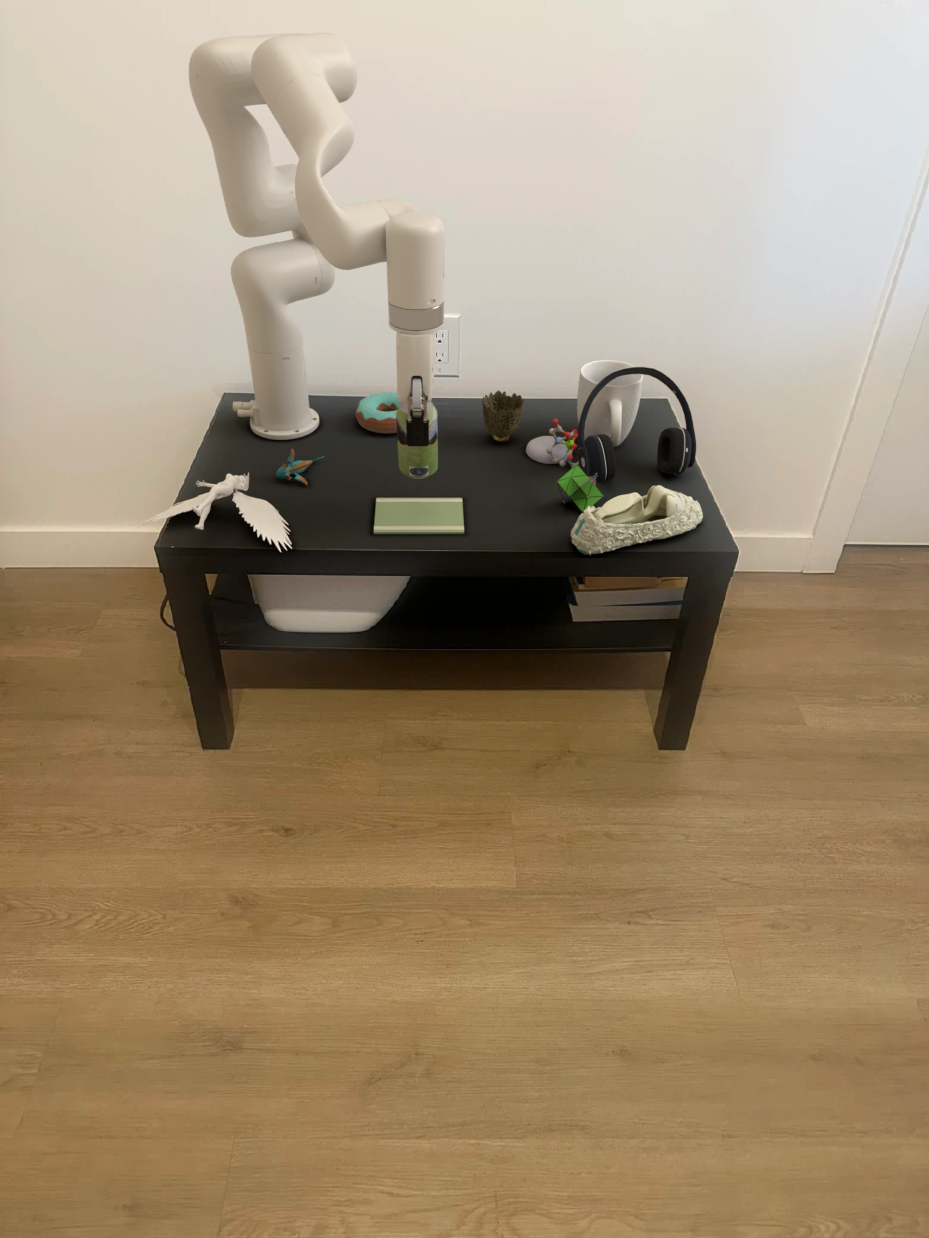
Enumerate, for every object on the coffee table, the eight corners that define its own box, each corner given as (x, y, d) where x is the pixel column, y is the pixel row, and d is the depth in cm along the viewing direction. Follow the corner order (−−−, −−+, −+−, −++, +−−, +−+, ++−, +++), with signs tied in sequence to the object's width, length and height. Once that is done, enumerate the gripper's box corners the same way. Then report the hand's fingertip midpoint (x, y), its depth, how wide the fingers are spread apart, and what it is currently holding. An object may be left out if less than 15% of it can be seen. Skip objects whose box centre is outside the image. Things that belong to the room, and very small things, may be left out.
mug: (642, 466, 151) (654, 396, 143) (580, 466, 151) (588, 396, 143) (626, 426, 163) (637, 359, 155) (568, 426, 162) (575, 359, 154)
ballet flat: (716, 530, 138) (728, 487, 132) (592, 572, 128) (600, 527, 123) (680, 502, 143) (691, 460, 138) (559, 540, 133) (565, 497, 128)
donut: (350, 412, 165) (349, 392, 163) (411, 405, 168) (411, 385, 165) (362, 441, 157) (361, 421, 154) (426, 433, 159) (426, 413, 157)
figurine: (112, 523, 127) (162, 530, 141) (269, 560, 123) (304, 564, 137) (128, 443, 126) (177, 458, 140) (287, 478, 122) (321, 490, 136)
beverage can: (439, 465, 136) (442, 392, 129) (434, 487, 130) (436, 412, 123) (400, 462, 136) (400, 389, 129) (392, 483, 130) (393, 408, 123)
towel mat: (373, 534, 134) (373, 531, 134) (376, 499, 142) (376, 497, 141) (464, 534, 134) (464, 531, 134) (462, 499, 142) (462, 497, 142)
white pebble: (525, 452, 151) (525, 462, 152) (571, 455, 150) (570, 465, 152) (527, 430, 157) (526, 439, 158) (572, 433, 156) (570, 443, 158)
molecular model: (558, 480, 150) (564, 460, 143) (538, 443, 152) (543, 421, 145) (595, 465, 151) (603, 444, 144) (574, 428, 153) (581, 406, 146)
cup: (527, 436, 159) (530, 395, 154) (512, 453, 154) (514, 412, 149) (490, 427, 162) (492, 387, 157) (474, 444, 156) (475, 403, 151)
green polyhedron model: (591, 466, 133) (576, 451, 140) (557, 495, 135) (544, 478, 142) (617, 498, 137) (601, 481, 144) (583, 526, 138) (569, 508, 145)
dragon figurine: (279, 452, 150) (266, 457, 143) (318, 438, 149) (306, 442, 142) (294, 488, 152) (282, 495, 144) (332, 473, 151) (322, 480, 143)
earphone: (684, 473, 152) (678, 366, 149) (702, 472, 146) (697, 360, 143) (576, 484, 149) (568, 375, 146) (589, 484, 142) (581, 369, 139)
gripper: (390, 291, 124) (394, 407, 135) (386, 338, 110) (391, 463, 122) (443, 291, 124) (442, 408, 135) (445, 339, 111) (444, 463, 122)
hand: (418, 433), depth 129 cm, fingers closed on beverage can, 6 cm apart
